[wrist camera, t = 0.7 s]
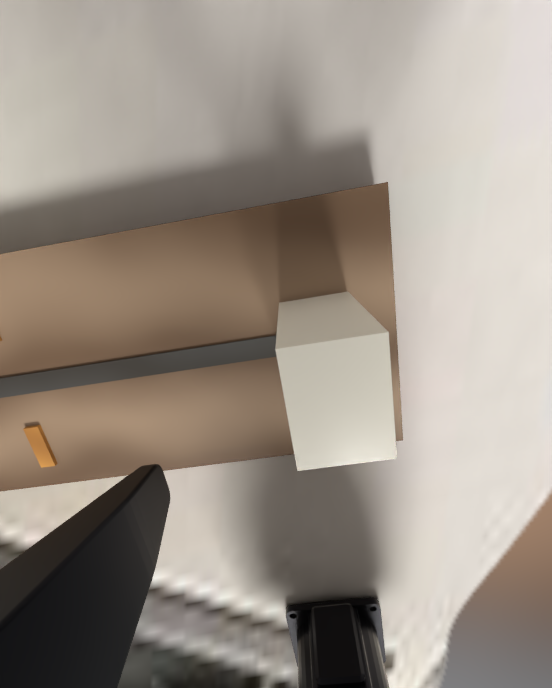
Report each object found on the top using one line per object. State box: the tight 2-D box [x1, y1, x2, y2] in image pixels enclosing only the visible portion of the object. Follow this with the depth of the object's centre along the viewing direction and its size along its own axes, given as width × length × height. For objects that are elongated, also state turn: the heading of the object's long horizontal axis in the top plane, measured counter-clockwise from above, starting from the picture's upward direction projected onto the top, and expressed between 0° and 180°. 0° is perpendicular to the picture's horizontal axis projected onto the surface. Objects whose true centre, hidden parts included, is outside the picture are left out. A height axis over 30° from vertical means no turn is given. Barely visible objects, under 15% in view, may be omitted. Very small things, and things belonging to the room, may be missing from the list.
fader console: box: [0, 182, 403, 491], centre depth 17 cm, size 12×25×2 cm, turn 100°
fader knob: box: [275, 292, 397, 471], centre depth 12 cm, size 4×3×6 cm
